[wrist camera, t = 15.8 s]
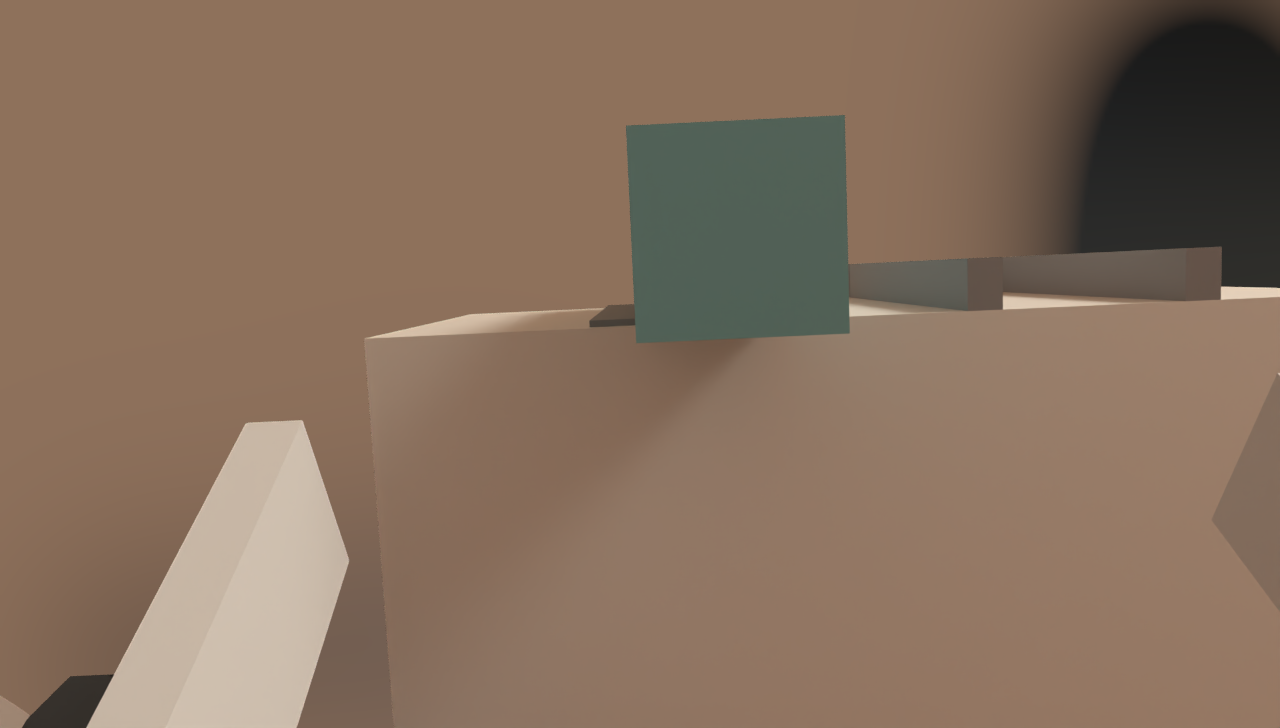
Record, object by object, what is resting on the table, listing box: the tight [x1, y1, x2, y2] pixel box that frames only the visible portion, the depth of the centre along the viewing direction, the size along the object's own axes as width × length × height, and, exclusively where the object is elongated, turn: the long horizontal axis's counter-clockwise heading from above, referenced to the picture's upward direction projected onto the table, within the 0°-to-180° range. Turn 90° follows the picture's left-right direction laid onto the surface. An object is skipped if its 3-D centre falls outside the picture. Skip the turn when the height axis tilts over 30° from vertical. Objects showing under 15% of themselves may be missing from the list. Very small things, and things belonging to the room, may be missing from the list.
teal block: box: [626, 115, 850, 343], centre depth 29 cm, size 24×4×4 cm, turn 0°
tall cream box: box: [364, 247, 1280, 728], centre depth 36 cm, size 16×30×34 cm, turn 90°
